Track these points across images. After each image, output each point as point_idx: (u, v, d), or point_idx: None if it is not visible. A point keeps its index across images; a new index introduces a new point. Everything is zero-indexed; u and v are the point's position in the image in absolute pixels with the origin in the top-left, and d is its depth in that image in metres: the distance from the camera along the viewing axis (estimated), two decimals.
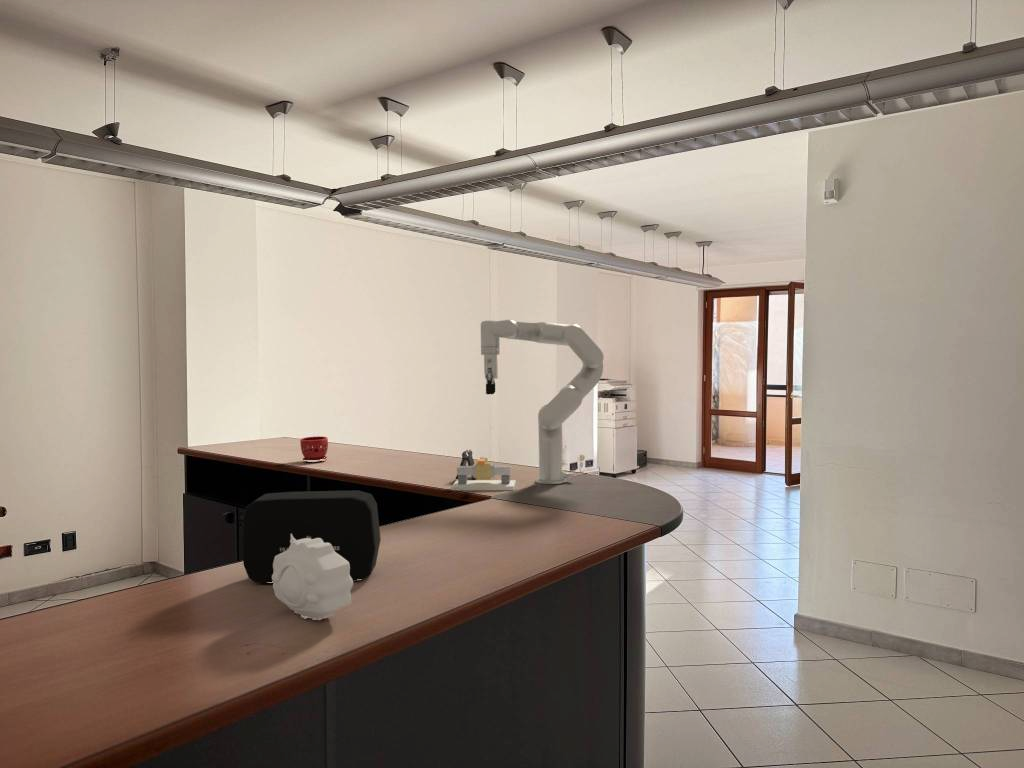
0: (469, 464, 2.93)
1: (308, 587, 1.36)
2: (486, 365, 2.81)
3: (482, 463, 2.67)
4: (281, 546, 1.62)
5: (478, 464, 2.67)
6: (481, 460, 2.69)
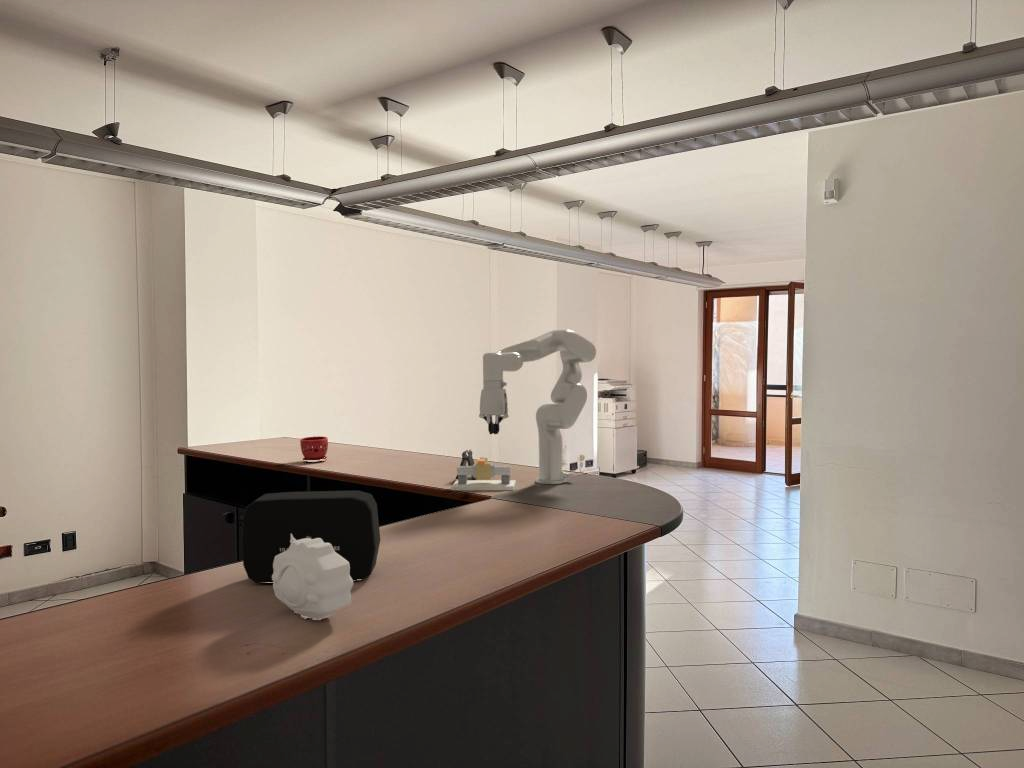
0: (469, 464, 2.93)
1: (308, 587, 1.36)
2: (504, 400, 2.64)
3: (482, 463, 2.67)
4: (281, 546, 1.62)
5: (478, 464, 2.67)
6: (481, 460, 2.69)
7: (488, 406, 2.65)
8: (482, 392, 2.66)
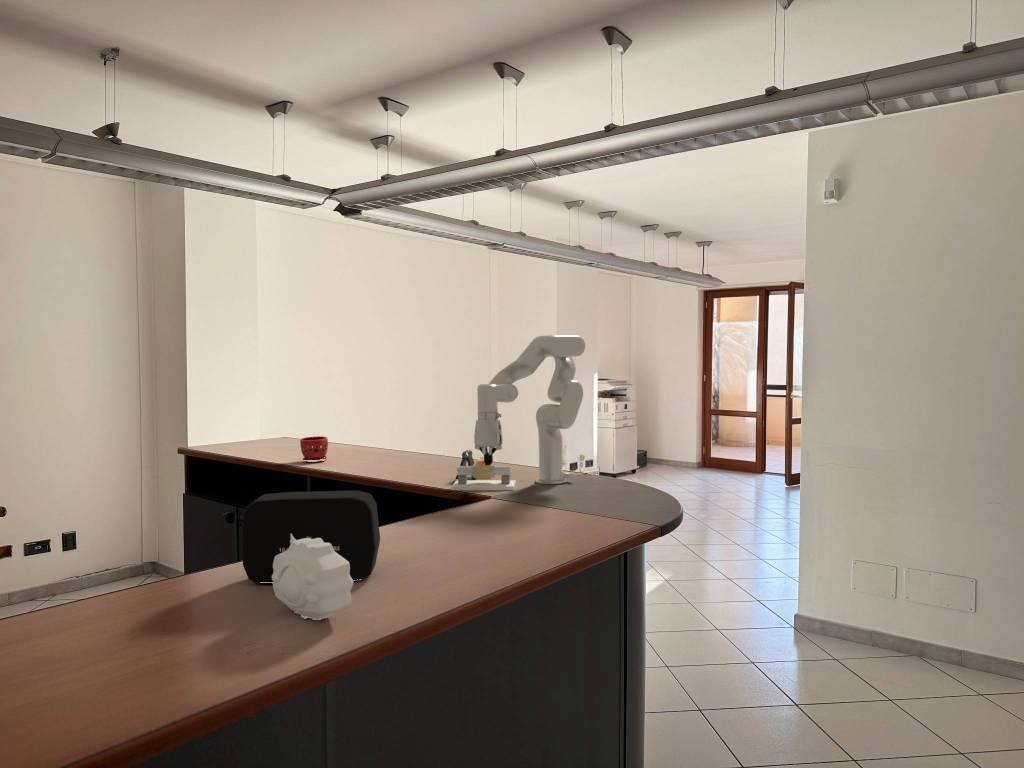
0: (469, 464, 2.93)
1: (308, 587, 1.36)
2: (498, 432, 2.65)
3: (481, 463, 2.67)
4: (281, 546, 1.62)
5: (477, 464, 2.67)
6: (480, 460, 2.69)
7: (483, 437, 2.66)
8: (477, 423, 2.67)
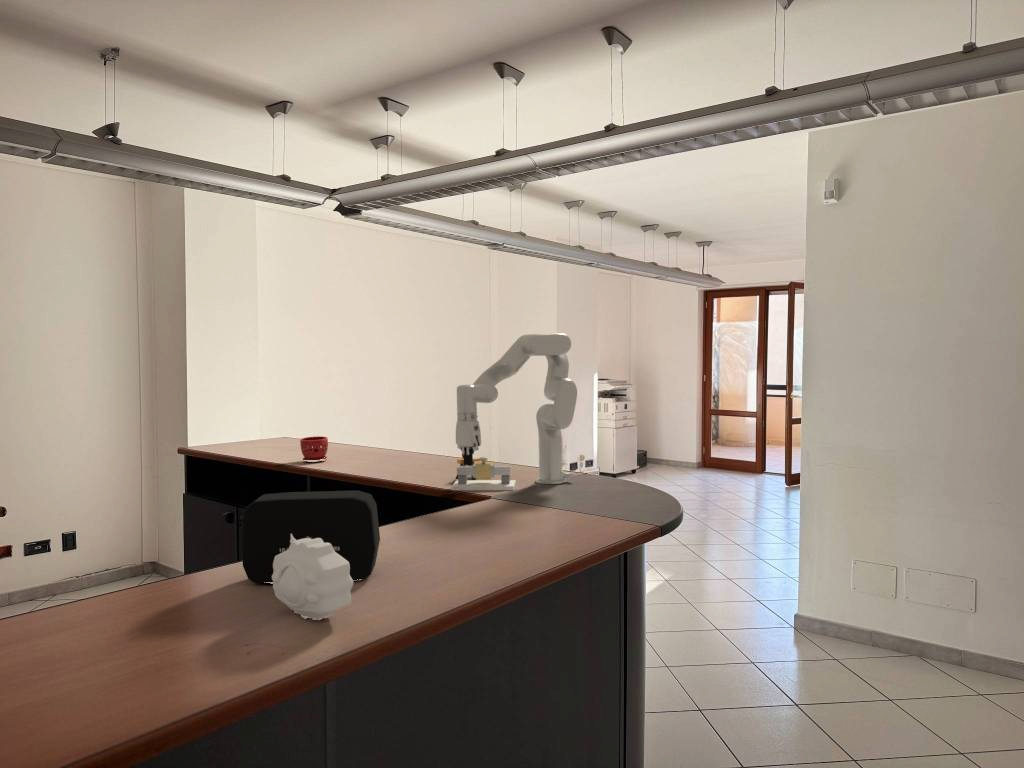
0: None
1: (308, 587, 1.36)
2: (473, 433, 2.66)
3: (459, 461, 2.71)
4: (281, 547, 1.61)
5: (457, 462, 2.73)
6: (463, 459, 2.73)
7: (461, 437, 2.69)
8: (457, 423, 2.71)
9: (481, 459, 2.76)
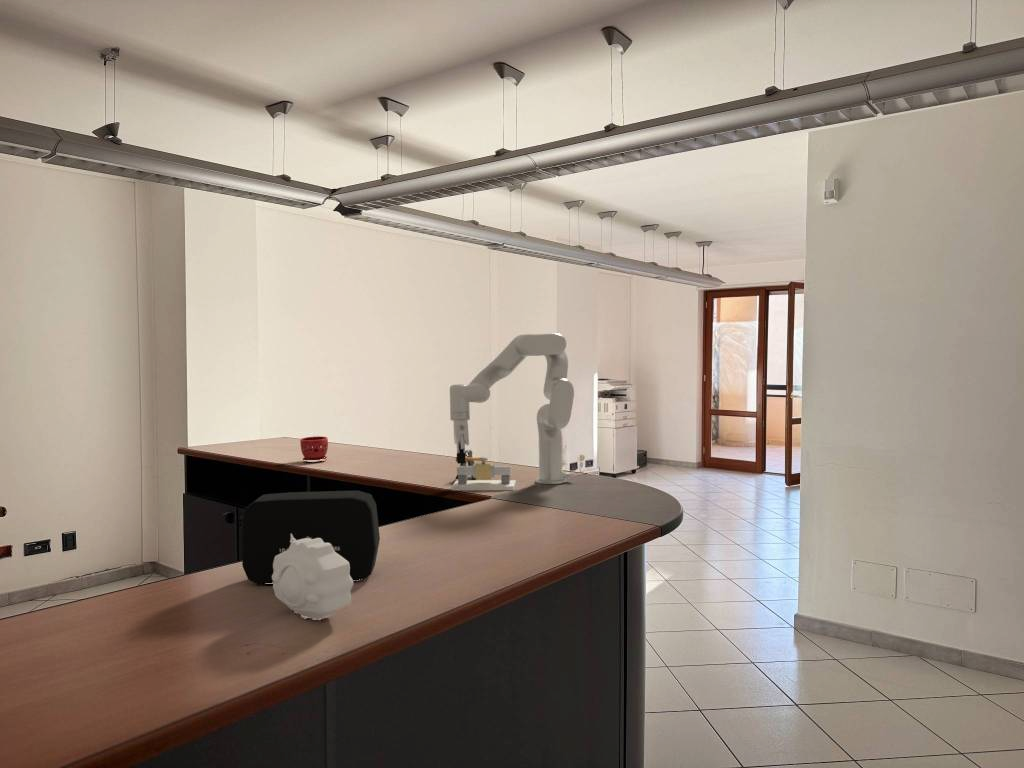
0: (469, 464, 2.93)
1: (308, 587, 1.36)
2: (458, 432, 2.70)
3: None
4: (281, 547, 1.61)
5: None
6: None
7: (454, 436, 2.76)
8: None
9: (479, 459, 2.77)
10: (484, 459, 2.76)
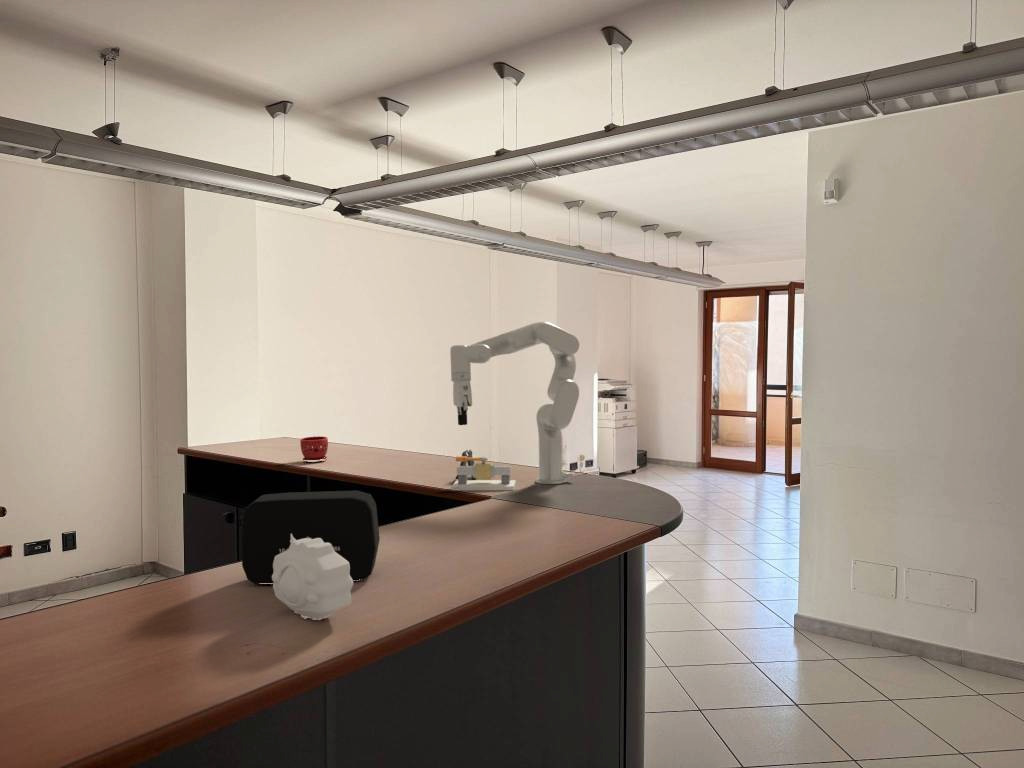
0: (469, 464, 2.93)
1: (308, 587, 1.36)
2: (462, 392, 2.67)
3: None
4: (281, 547, 1.61)
5: None
6: (461, 456, 2.79)
7: (455, 397, 2.72)
8: (453, 383, 2.74)
9: (479, 459, 2.77)
10: (484, 459, 2.76)
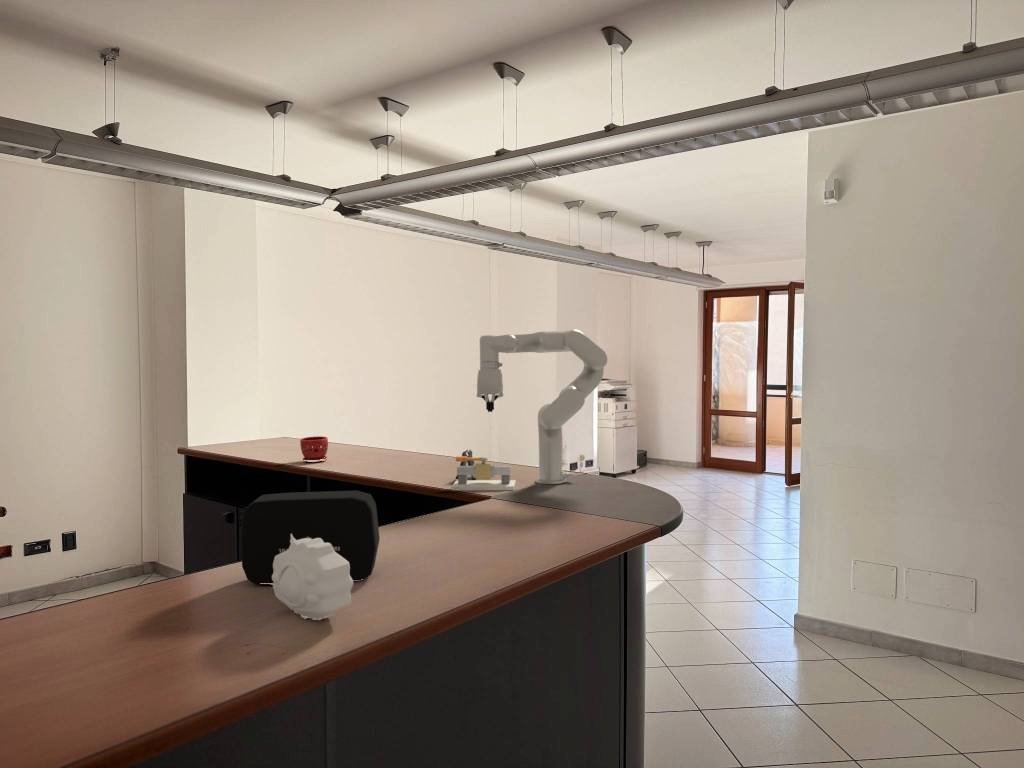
0: (469, 464, 2.93)
1: (308, 587, 1.36)
2: (501, 380, 2.82)
3: None
4: (281, 547, 1.61)
5: None
6: (461, 456, 2.79)
7: (486, 385, 2.82)
8: (480, 372, 2.82)
9: (479, 459, 2.77)
10: (484, 459, 2.76)
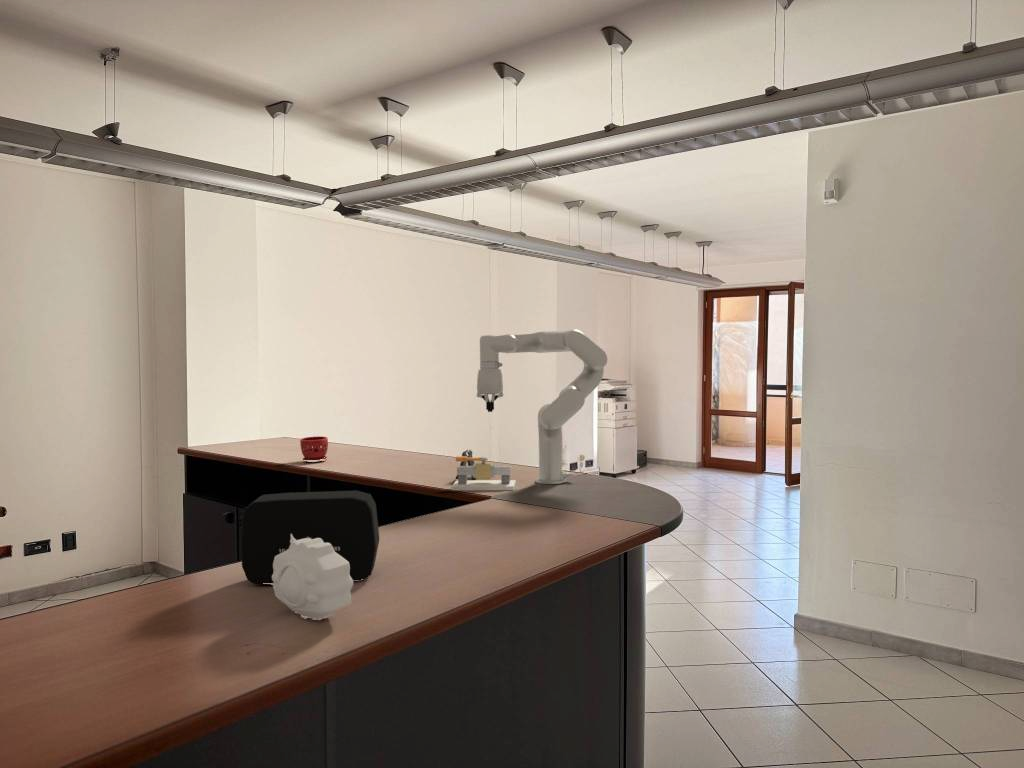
0: (469, 464, 2.93)
1: (308, 587, 1.36)
2: (501, 380, 2.82)
3: None
4: (281, 547, 1.61)
5: None
6: (461, 456, 2.79)
7: (486, 385, 2.82)
8: (480, 372, 2.82)
9: (479, 459, 2.77)
10: (484, 459, 2.76)
